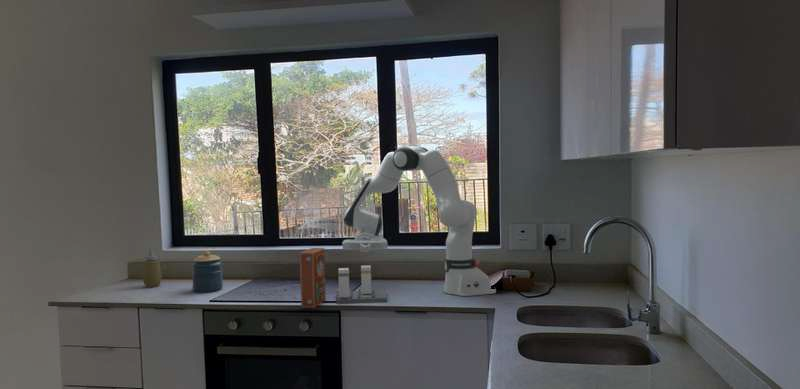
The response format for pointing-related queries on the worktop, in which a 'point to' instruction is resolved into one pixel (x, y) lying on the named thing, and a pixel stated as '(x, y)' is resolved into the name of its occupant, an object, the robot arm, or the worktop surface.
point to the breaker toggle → (366, 279)
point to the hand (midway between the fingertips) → (365, 248)
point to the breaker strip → (355, 296)
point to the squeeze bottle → (152, 271)
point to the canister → (207, 273)
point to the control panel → (312, 277)
